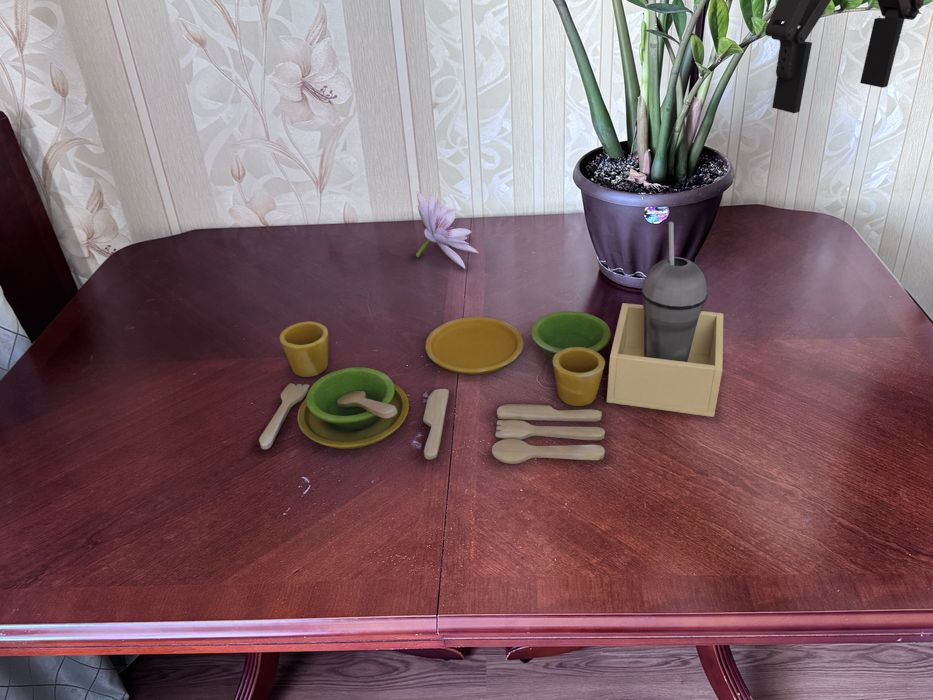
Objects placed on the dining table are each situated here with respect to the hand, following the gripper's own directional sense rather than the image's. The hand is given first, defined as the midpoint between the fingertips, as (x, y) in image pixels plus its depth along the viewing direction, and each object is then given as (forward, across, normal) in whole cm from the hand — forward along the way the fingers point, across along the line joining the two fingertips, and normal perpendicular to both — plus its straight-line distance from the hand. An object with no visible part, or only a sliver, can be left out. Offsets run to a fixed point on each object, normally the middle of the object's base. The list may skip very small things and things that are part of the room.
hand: (830, 97), depth 76 cm
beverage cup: (+31, +17, -3) cm, 35 cm away
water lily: (+30, +23, -47) cm, 60 cm away
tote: (+31, +17, -3) cm, 36 cm away
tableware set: (+31, +40, -17) cm, 53 cm away
